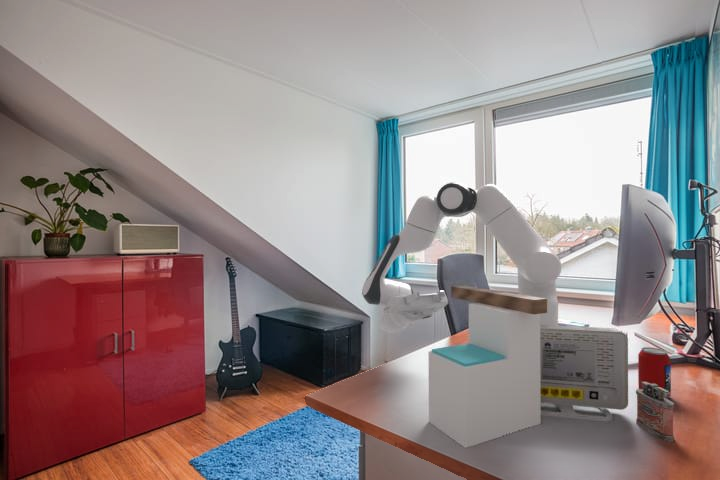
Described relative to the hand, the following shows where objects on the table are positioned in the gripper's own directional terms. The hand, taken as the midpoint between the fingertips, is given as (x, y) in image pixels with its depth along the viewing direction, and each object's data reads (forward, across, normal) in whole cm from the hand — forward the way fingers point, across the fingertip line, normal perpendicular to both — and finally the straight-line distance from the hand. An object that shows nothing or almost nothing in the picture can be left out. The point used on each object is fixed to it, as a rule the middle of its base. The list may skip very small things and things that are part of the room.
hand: (430, 293), depth 111 cm
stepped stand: (+12, -6, +36) cm, 38 cm away
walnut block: (+22, 0, +12) cm, 25 cm away
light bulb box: (-11, +63, +22) cm, 68 cm away
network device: (+15, +17, +38) cm, 44 cm away
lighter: (+28, +25, +45) cm, 59 cm away
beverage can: (+19, +46, +40) cm, 64 cm away
